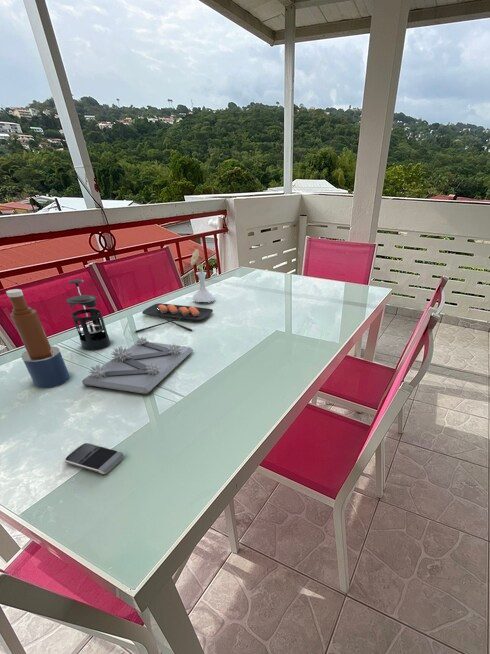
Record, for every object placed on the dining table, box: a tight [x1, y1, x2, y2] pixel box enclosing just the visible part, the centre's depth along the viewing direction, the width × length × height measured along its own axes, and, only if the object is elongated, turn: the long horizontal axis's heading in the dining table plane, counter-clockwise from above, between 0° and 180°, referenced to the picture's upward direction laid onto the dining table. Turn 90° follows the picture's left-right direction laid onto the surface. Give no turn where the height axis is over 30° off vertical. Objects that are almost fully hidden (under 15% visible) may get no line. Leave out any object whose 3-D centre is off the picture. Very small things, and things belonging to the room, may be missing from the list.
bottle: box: [5, 288, 52, 357], centre depth 90 cm, size 6×6×18 cm
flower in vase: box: [190, 248, 217, 304], centre depth 158 cm, size 13×11×25 cm
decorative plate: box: [81, 337, 194, 395], centre depth 106 cm, size 30×22×7 cm
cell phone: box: [63, 442, 124, 475], centre depth 73 cm, size 6×11×1 cm, turn 73°
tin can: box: [20, 345, 71, 389], centre depth 97 cm, size 9×9×9 cm
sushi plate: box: [135, 303, 214, 333], centre depth 141 cm, size 29×30×4 cm
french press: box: [66, 278, 112, 351], centre depth 114 cm, size 12×9×23 cm
